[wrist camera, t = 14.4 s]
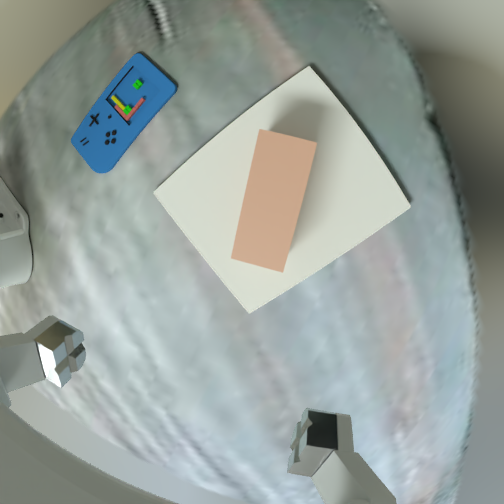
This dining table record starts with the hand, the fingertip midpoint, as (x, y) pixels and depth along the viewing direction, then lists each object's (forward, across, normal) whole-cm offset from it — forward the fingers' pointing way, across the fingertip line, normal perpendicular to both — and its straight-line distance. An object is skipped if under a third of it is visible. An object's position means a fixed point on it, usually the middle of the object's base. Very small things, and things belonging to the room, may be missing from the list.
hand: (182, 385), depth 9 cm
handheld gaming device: (+26, +21, -9) cm, 34 cm away
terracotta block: (+22, 0, +3) cm, 22 cm away
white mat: (+25, 0, -3) cm, 25 cm away
